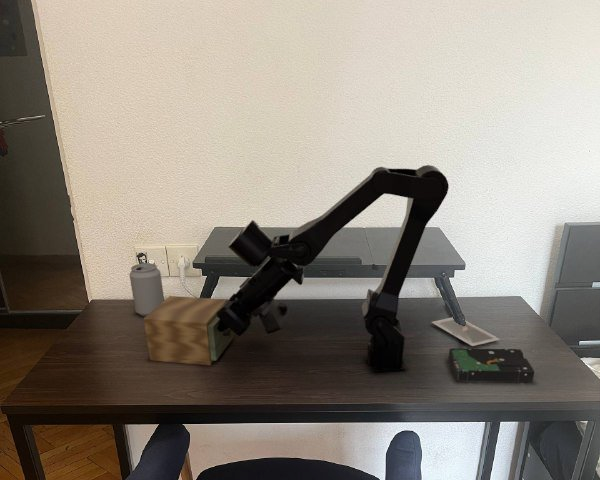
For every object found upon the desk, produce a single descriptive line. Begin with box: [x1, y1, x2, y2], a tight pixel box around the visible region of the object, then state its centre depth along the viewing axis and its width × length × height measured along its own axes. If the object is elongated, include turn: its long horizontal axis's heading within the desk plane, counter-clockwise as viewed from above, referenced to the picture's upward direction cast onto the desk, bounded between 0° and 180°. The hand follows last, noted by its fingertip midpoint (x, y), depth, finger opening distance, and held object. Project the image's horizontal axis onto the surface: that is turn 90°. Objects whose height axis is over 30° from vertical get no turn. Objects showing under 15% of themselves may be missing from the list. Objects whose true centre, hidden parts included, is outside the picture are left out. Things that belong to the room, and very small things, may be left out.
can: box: [128, 262, 165, 317], centre depth 145 cm, size 8×8×12 cm
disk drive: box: [448, 347, 535, 383], centre depth 117 cm, size 10×3×15 cm
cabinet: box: [143, 295, 228, 366], centre depth 126 cm, size 14×14×10 cm
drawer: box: [208, 315, 235, 362], centre depth 126 cm, size 14×12×8 cm
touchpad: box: [430, 316, 501, 347], centre depth 133 cm, size 8×15×2 cm, turn 25°
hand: (219, 330), depth 121 cm, fingers closed, pressing on drawer
